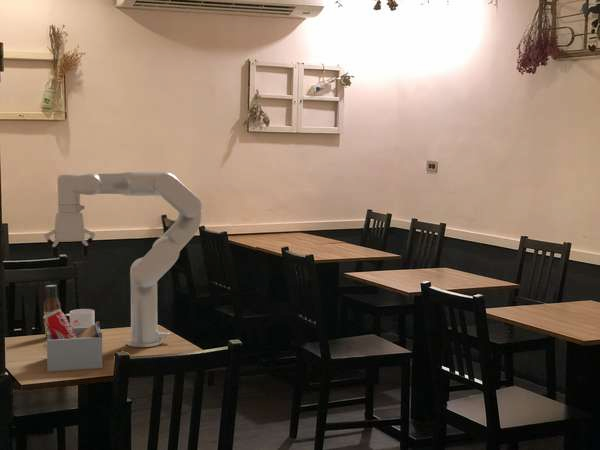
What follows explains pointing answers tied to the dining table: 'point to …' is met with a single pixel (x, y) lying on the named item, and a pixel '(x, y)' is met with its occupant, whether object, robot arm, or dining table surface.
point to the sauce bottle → (51, 301)
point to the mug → (81, 318)
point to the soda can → (58, 325)
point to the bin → (75, 351)
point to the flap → (88, 333)
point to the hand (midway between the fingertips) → (70, 257)
